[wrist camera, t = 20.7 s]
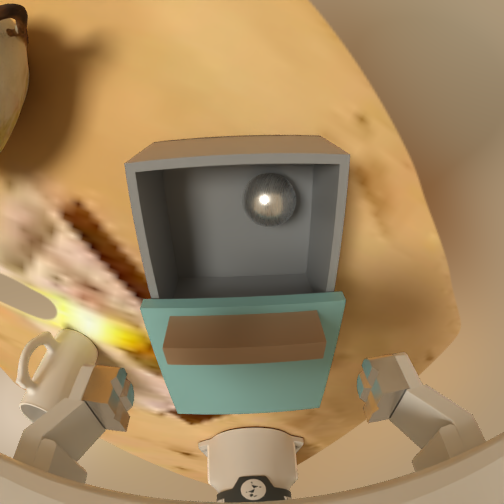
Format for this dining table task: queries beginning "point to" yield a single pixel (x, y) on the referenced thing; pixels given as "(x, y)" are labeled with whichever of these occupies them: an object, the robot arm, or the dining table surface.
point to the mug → (53, 370)
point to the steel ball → (268, 200)
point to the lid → (245, 350)
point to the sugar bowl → (12, 67)
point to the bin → (237, 216)
